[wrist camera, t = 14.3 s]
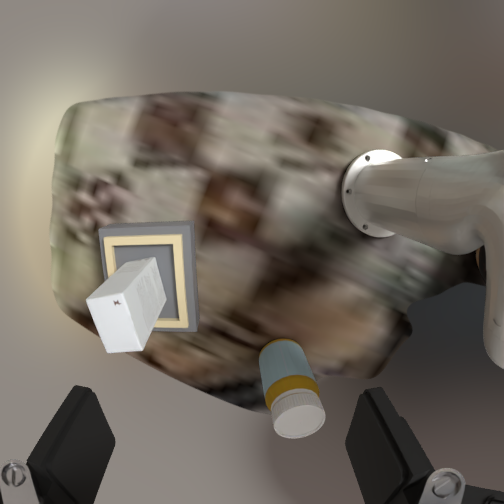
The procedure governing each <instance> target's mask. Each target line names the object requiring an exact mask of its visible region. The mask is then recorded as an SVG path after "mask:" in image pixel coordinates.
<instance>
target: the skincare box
mask: <svg viewBox="0 0 504 504" xmlns="http://www.w3.org/2000/svg"><path fill="white" fill-rule="evenodd" d="M166 300H167V299H166V295H165V292H164V288H163V285H162V281H161V277H160V274H159V270H158V266H157V262H156V258H155V257H150V258H145V259H140V260H135V261H130V262H126V263H125V264H124V265H122V266H121V267H120V268H119V269H118V270H117V271H116V272H115V273H114V274H113V275H111V276H110V277H109V278H108V279H107V280H106V281H105V282H104V283H103V284H102V285H101V286H99V287H98V288H97V289H96V290H95V291H94V292H93V293H92V294H91V295H90V296H89V297H88V298H87V299H86V302H87V305H88V308H89V310H90V313H91V316H92V318H93V321H94V323H95V326H96V328H97V330H98V333H99V335H100V338H101V340H102V342H103V344H104V347H105V349H106V352H107V353H117V352H133V351H143V349H144V347H145V345H146V342H147V340H148V338H149V336H150V334H151V331H152V329H153V327H154V325H155V323H156V321H157V319H158V317H159V315H160V313H161V311H162V308H163V306H164V304H165V302H166Z"/></svg>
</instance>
